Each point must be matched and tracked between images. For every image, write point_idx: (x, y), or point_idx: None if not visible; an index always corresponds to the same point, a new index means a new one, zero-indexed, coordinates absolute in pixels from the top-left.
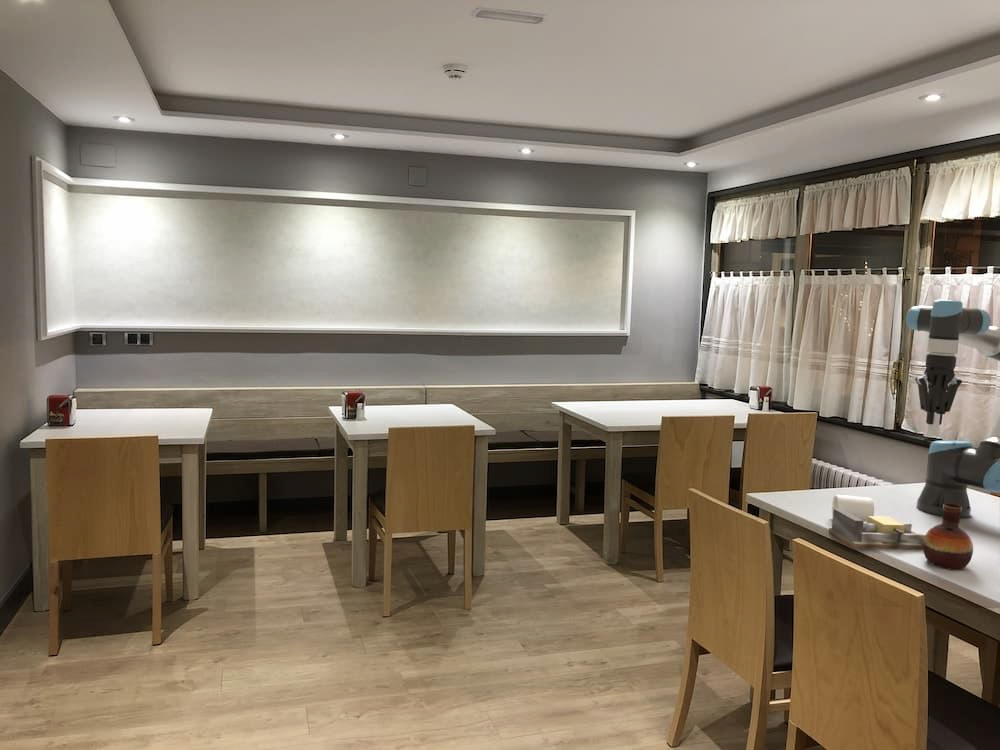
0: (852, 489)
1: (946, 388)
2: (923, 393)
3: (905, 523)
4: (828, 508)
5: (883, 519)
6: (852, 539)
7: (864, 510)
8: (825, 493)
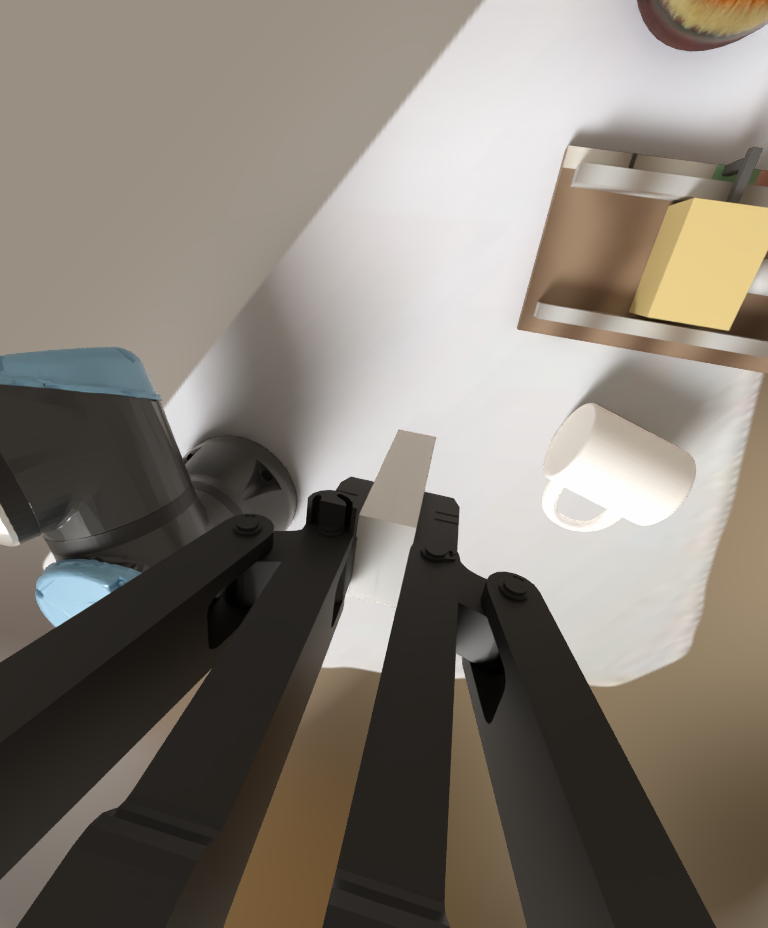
0: (344, 661)
1: (104, 871)
2: (670, 875)
3: (557, 314)
4: (551, 560)
5: (708, 281)
6: None
7: (624, 422)
8: None
